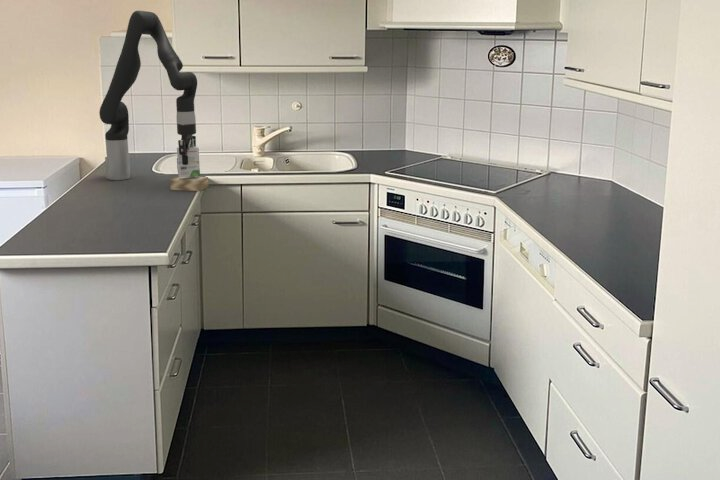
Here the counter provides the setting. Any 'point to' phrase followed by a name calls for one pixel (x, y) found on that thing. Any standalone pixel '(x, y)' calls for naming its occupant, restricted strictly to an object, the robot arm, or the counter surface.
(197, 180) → the plinth
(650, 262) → the counter surface
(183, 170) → the ink box
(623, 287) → the counter surface
